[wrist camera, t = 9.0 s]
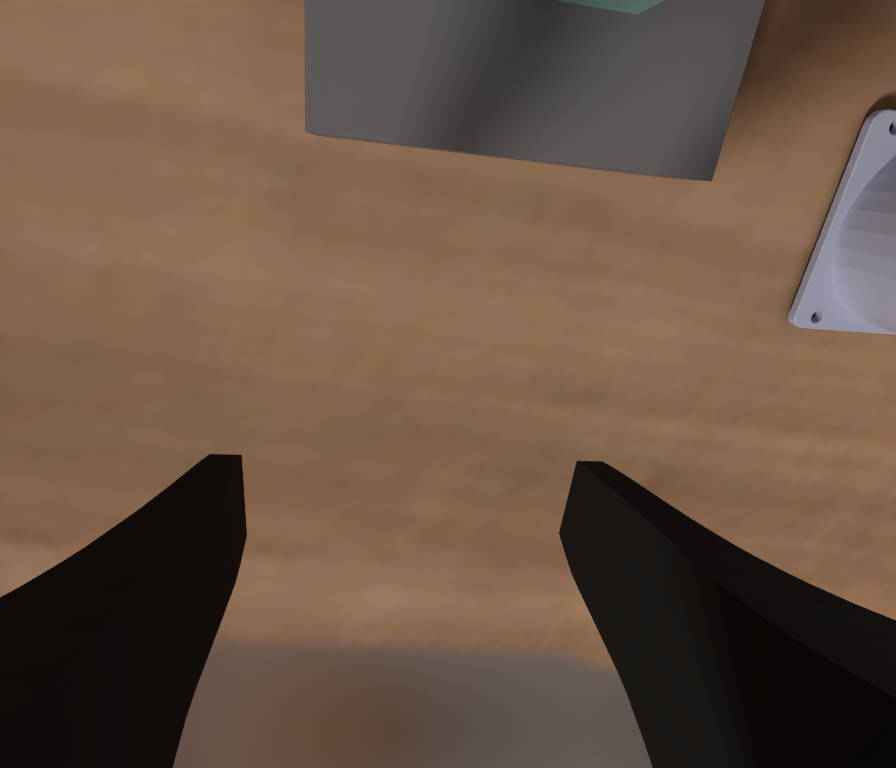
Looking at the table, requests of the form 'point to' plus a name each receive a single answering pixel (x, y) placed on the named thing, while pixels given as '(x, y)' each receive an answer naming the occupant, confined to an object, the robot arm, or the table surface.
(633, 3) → the teal block
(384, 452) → the table surface
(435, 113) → the plinth
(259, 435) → the table surface
